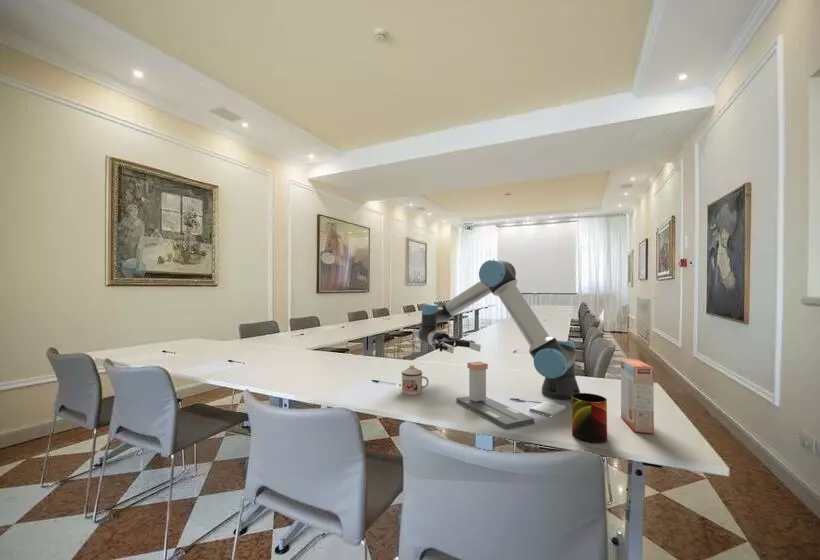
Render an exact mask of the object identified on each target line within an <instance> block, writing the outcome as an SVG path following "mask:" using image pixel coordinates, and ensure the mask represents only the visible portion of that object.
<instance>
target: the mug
mask: <svg viewBox="0 0 820 560" xmlns="http://www.w3.org/2000/svg"><path fill="white" fill-rule="evenodd" d="M607 403H608V401H607V398H606V397H605V396H602V395H599V394H594V393H590V392H589V393H587V392H580V393H575V394H572V400H571V436H572V437H573V438H574V439H576V440H578V441H579V442H583V443H587V444H593V445H594V444H595V445H597V444H598V445H601V444H605V443H607V441H608V418H607V417H608V404H607Z"/></svg>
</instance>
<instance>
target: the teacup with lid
mask: <svg viewBox="0 0 820 560" xmlns="http://www.w3.org/2000/svg"><path fill="white" fill-rule="evenodd" d="M423 379H424V380H426V384H425V385H423V382H422V381H423ZM429 383H430V382H429V378H428V377H427V376H423V371H422V370H420V369H418V368H416V367H415V366H414V365H412V364H411V365H409V367H408V368H406V369H403V370H402V371H401V393H402V394H404V395H406V396H418V395H421V394H422V393H423V389H426V388H427V387H428V386H429Z"/></svg>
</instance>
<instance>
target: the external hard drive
mask: <svg viewBox="0 0 820 560" xmlns="http://www.w3.org/2000/svg"><path fill="white" fill-rule="evenodd" d="M566 408H567V406H566V405H564V404H558V403H555V402H550V401H543V402H541V403H539V404H537V405H535V406H533V407H531V408H529V412H531V411H532V412H531V413H534V412H536V413H535V414H538V413H540V414H539V415H542V414H544V415H543V416H546V415H547V416H546V417H550V416H552V417H554V416H555V414H556V415H557V414H559V413H561V412H563V411H565V410H566ZM562 410H563V411H562ZM560 411H561V412H560ZM558 412H559V413H558ZM553 415H554V416H553Z"/></svg>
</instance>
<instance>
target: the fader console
mask: <svg viewBox="0 0 820 560" xmlns="http://www.w3.org/2000/svg"><path fill="white" fill-rule="evenodd" d="M455 402H456V403H457V404H459V405H461V406H462V407H465V408H466V407H467V408H466V409H468V408H469V409H468V410H470V409H471V411H472V410H473V412H474V413H476V414H478V415H479V414H480V416H481V415H482V417H483V416H484V417H483V418H485V419H487V420H489V421H491V422H492V421H493V422H492V423H494V424H497V425H498V426H500V427H502V428H504V429H505V430H508V429H513V428H517V427H522V426H527V425H531V424H535V418H534V417H532V416H530V415H527V414H525V413H523V412H521V411H519V410H516V409H514V408H512V407H510V406H508V405H505V404H503V403H501V402H499V401H497V400H494V399H492V398H491V397H490V398H489V397H487V396H486V400H482V401H476V402H475V401H473V400H471V399H469V395H468V396H463V397H456V401H455Z"/></svg>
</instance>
